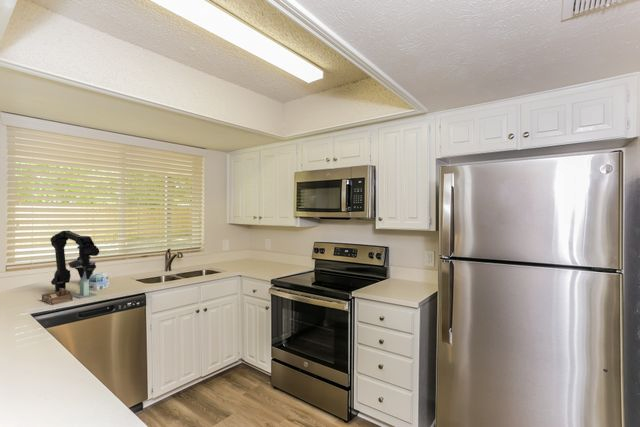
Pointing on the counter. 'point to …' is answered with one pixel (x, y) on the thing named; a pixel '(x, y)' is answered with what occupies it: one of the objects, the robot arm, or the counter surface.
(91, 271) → the robot arm
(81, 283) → the grey-green rectangular block
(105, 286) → the light bulb box
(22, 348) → the counter surface
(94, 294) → the mat
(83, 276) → the moka pot
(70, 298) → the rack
